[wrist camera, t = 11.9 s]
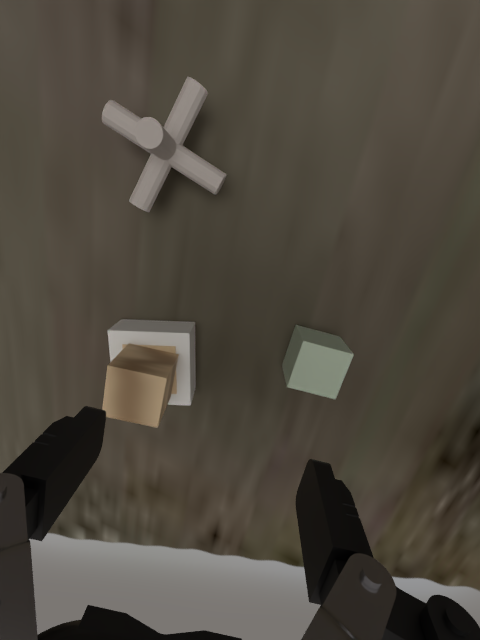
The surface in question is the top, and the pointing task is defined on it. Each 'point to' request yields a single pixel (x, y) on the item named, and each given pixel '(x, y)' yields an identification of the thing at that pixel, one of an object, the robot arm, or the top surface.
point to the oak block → (139, 385)
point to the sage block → (316, 362)
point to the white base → (162, 349)
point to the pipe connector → (165, 144)
